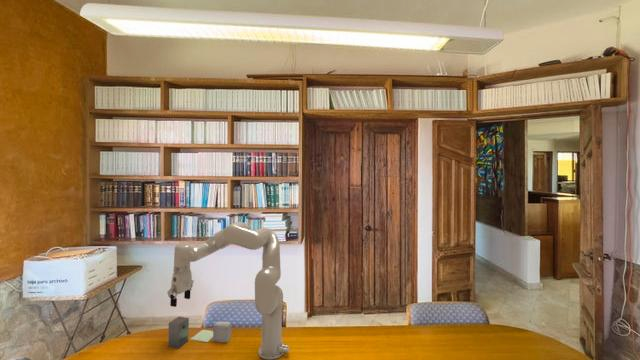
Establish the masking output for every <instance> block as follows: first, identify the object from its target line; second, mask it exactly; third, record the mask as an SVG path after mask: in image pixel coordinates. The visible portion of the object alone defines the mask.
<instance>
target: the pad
mask: <svg viewBox="0 0 640 360" xmlns="http://www.w3.org/2000/svg"><path fill="white" fill-rule="evenodd" d="M189 339H190V340H191V341H196V342H201V343H209V342H210V341H211V340H213V330H209V329H208V330H207V329H202V330H200V331H198V333H196V334H195V335H194V336H192V337H191V338H189Z"/></svg>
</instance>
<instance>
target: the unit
mask: <svg viewBox="0 0 640 360" xmlns="http://www.w3.org/2000/svg"><path fill="white" fill-rule="evenodd" d="M189 318H190V317H184V316H177V317H176V318H174V319H172V320H170V321H169V322H168V335H167V336H168V337H167V338H168V341H167V342H168V344H167V345H168V348H171V349H177V350H179V349H180V348H182V347H183V346H184V345H186V344H187V343H189V332H190V331H189V328H190V327H189V326H190V325H189V322H190V320H189Z"/></svg>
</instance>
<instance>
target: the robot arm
mask: <svg viewBox="0 0 640 360" xmlns="http://www.w3.org/2000/svg"><path fill="white" fill-rule="evenodd" d="M231 245H236V246H238V247H241V248H245V249H247V250H251V251H252V250H253V251H255V250H258V249H261V248H262V255H261V257H262V258H261V261H262V266H261V267H262V268H261V269H260V270H258V272H257V274H256V275H255V279H254V303H255V308H256V310H257V312H258V313H259V314H260V315H261V346H260V347H259V348H258V351H257V354H258V356H259V357H260V358H261V359H264V360H277V359H279V358H280V357H282V356H283V355H284V354H286V353H287V354H289V352H290V347H289V345H285V344H284V340H282V334H283V333H282V332H283V331H282V325H283V324H282V322H283V321H282V319H283V303H284V293H283V289H282V288H281V287H280V286H278V285H277V283H278V282H279V281H280V279H281V275H282V273H281V271H282V270H281V250H280V249H281V247H280V240H279V238H278V235H277V234H276V233H275V232H274V230H272V229H269V228H267V227H261V228H257V229H254V230H249V228H248V225H247V224H246V223H244V222H243V221H237V222H233V223H230V224H228V225H227V226H225V228H223V229H221V230H219V231H217V232H215V233H214V234H213V236H212V237H211V238H209V239H207V240H205V241H202V242H200V243H199V244H195V245H192V246H191V245H190V243H180V244H179V243H178V244H176V245H175V247H174V252H173V256H174V258H173V273H172V276H171V277H172V278H171V284H170V285H171V286H170V288H169V289H168V290H167V292H166V293H167V296H168V297H169V299H170V302H169V303H170V304H169V305H170V307H172V308H177V305H178V298H177V297H178V295H181V294H183V293H184V294H183V295H184V296H183V298H184V299H186V300H190V299H191V292H192V288H193V285H194V280H193V277H192V270H191V263H194V262H198V261H199V260H202V259H204V258H206V257H208V256H209V255H212V254H214V253H215V252H217V251H219V250H223V249H224V248H226V247H229V246H231Z"/></svg>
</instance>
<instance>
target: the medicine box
mask: <svg viewBox="0 0 640 360" xmlns="http://www.w3.org/2000/svg"><path fill="white" fill-rule="evenodd" d="M212 328H213V329H212V331H213V338H212V341H213V342H214V343H227V344H228V343H229V341H230V340H231V338H232V322H230V321H216V322H214V324H213V326H212Z"/></svg>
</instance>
